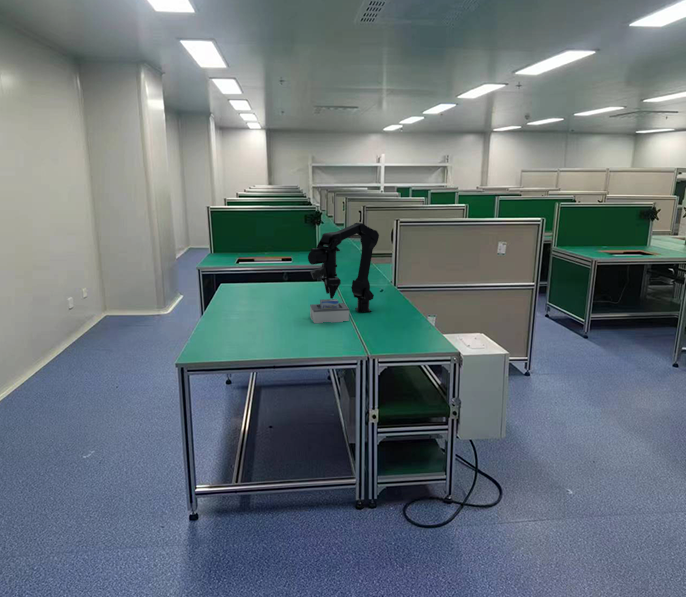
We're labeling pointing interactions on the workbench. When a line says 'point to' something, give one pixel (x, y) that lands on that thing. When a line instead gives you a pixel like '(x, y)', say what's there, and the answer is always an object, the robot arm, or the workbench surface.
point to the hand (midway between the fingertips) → (329, 295)
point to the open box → (329, 313)
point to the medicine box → (329, 304)
